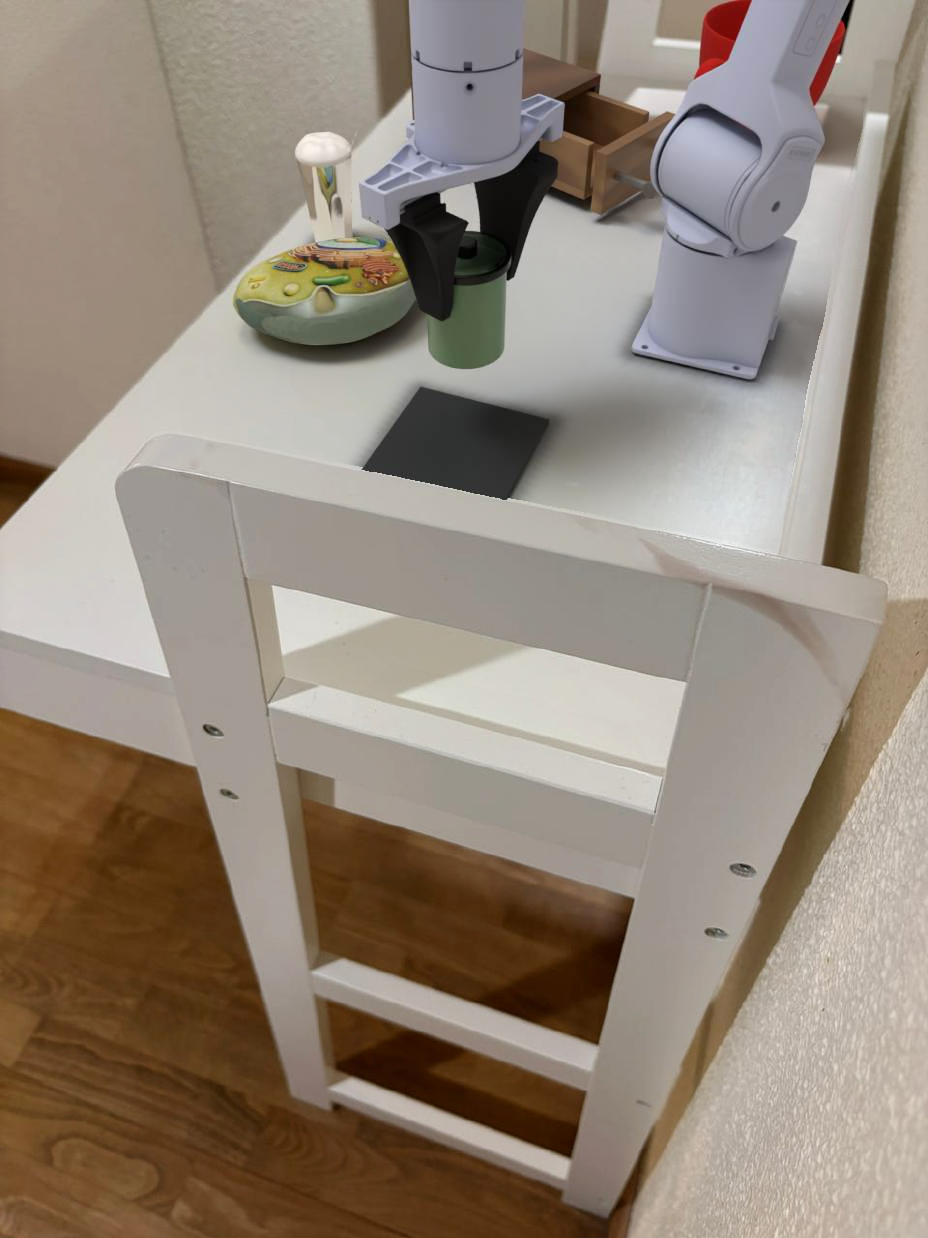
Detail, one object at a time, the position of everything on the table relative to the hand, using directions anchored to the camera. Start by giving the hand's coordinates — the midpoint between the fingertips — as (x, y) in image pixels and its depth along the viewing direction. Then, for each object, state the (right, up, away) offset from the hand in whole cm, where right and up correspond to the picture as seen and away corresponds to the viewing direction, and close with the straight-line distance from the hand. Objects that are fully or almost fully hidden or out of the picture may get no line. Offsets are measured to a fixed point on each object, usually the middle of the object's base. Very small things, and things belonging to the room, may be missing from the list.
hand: (468, 292), depth 57 cm
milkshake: (-11, +12, +24) cm, 29 cm away
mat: (-1, -8, +6) cm, 11 cm away
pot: (0, -2, +3) cm, 4 cm away
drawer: (+12, +21, +29) cm, 38 cm away
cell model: (-10, +4, +17) cm, 20 cm away
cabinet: (+4, +26, +34) cm, 44 cm away
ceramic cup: (+27, +28, +36) cm, 53 cm away
